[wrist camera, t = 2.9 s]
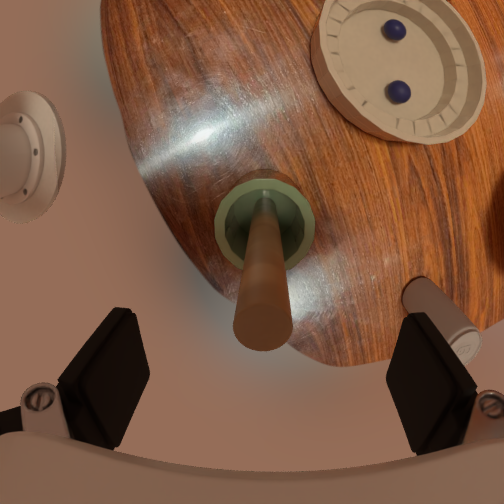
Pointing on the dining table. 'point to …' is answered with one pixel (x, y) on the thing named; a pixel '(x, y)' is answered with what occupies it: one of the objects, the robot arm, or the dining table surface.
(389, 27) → the berry
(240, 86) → the dining table surface
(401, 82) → the berry
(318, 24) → the bowl
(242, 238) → the crock
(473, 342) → the beverage can
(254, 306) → the stick
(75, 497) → the robot arm
